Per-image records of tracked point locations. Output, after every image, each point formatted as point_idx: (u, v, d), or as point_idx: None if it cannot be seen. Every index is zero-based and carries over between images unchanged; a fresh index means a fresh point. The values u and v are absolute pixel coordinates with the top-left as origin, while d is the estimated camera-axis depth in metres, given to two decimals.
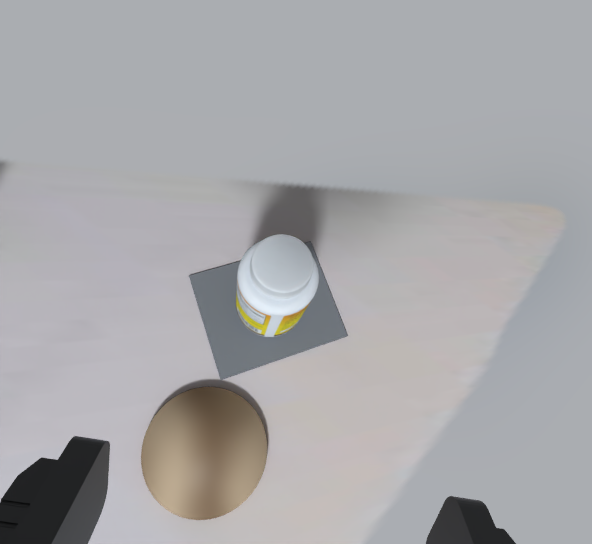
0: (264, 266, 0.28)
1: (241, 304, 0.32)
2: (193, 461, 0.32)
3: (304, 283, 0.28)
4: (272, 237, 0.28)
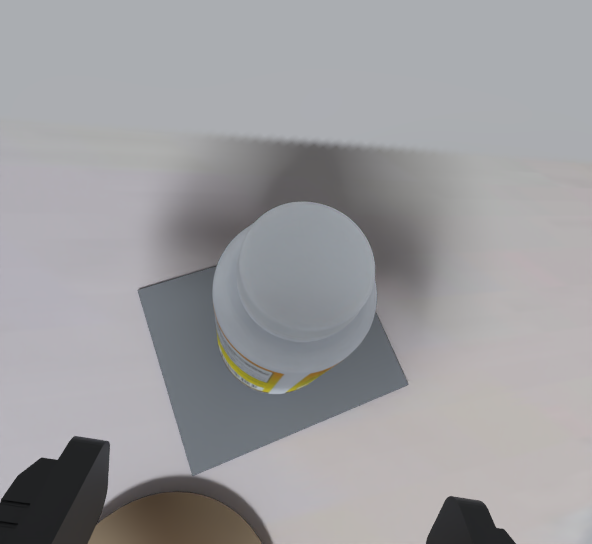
0: (269, 272, 0.12)
1: (224, 346, 0.16)
2: None
3: (358, 307, 0.12)
4: (284, 208, 0.13)
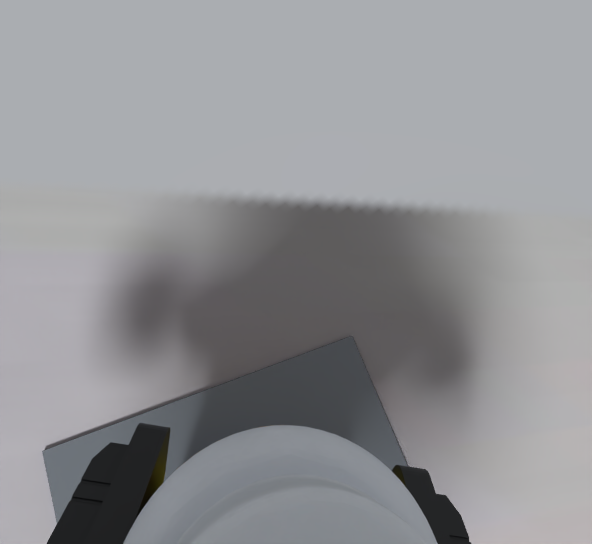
0: None
1: None
2: None
3: None
4: (250, 519, 0.05)
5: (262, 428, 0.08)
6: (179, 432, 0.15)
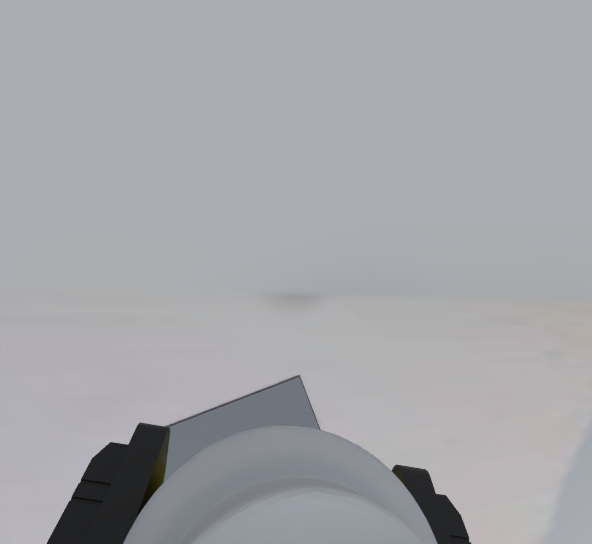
0: None
1: None
2: None
3: None
4: (249, 520, 0.05)
5: (262, 428, 0.08)
6: (203, 431, 0.28)
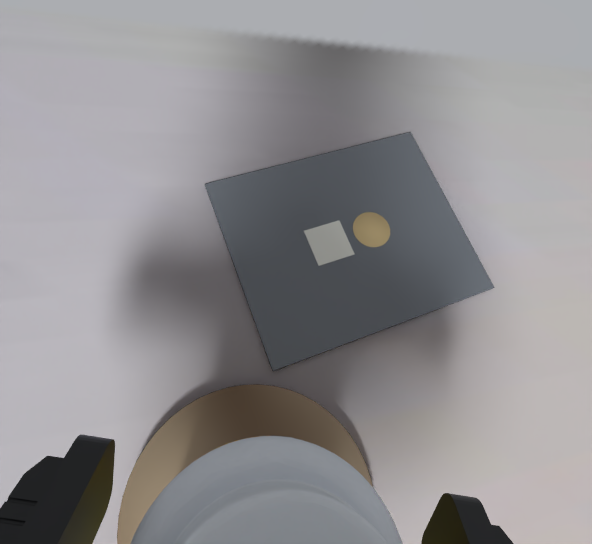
0: None
1: None
2: None
3: None
4: (239, 515, 0.07)
5: (252, 439, 0.09)
6: (295, 180, 0.21)
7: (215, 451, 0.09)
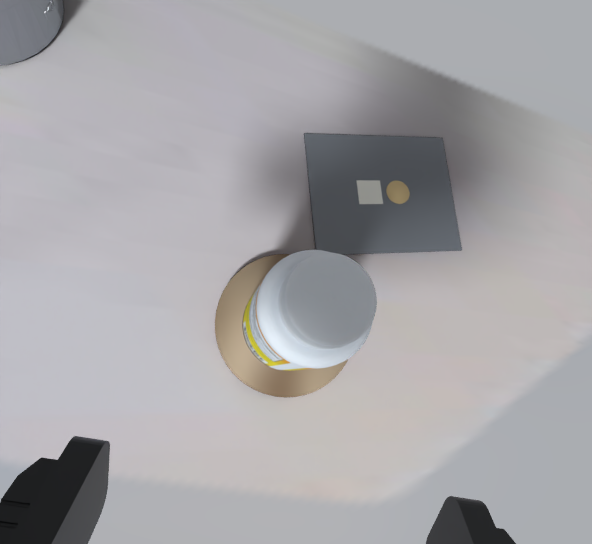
0: (304, 297, 0.18)
1: (252, 327, 0.22)
2: None
3: (355, 338, 0.18)
4: (326, 256, 0.19)
5: None
6: (359, 147, 0.33)
7: (308, 250, 0.21)
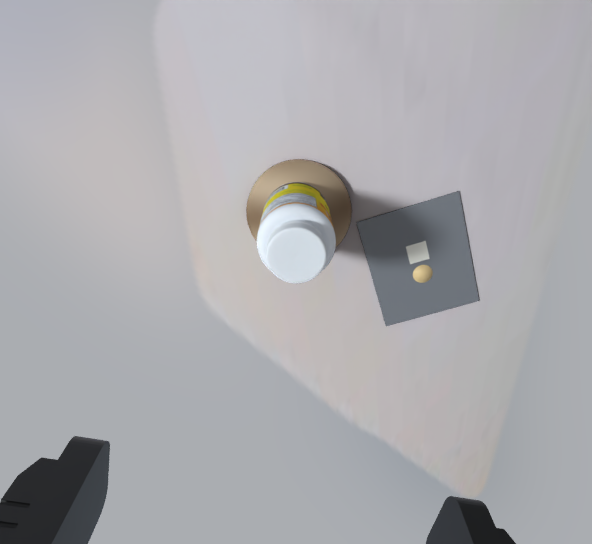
0: (291, 240, 0.28)
1: (278, 199, 0.32)
2: None
3: (275, 274, 0.29)
4: (322, 248, 0.29)
5: (335, 240, 0.31)
6: (455, 238, 0.40)
7: (333, 230, 0.31)
